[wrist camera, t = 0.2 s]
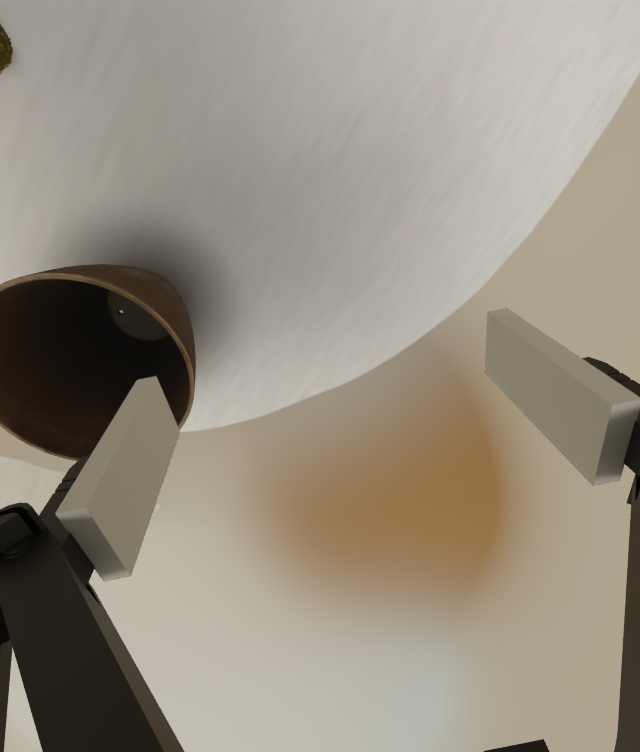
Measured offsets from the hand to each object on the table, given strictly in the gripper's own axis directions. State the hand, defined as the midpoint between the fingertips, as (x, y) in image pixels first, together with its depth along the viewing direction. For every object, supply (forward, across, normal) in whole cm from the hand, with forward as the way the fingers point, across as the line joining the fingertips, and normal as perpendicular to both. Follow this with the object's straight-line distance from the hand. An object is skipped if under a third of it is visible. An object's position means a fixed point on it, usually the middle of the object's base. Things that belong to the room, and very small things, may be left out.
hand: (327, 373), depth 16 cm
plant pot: (+28, -16, -4) cm, 33 cm away
